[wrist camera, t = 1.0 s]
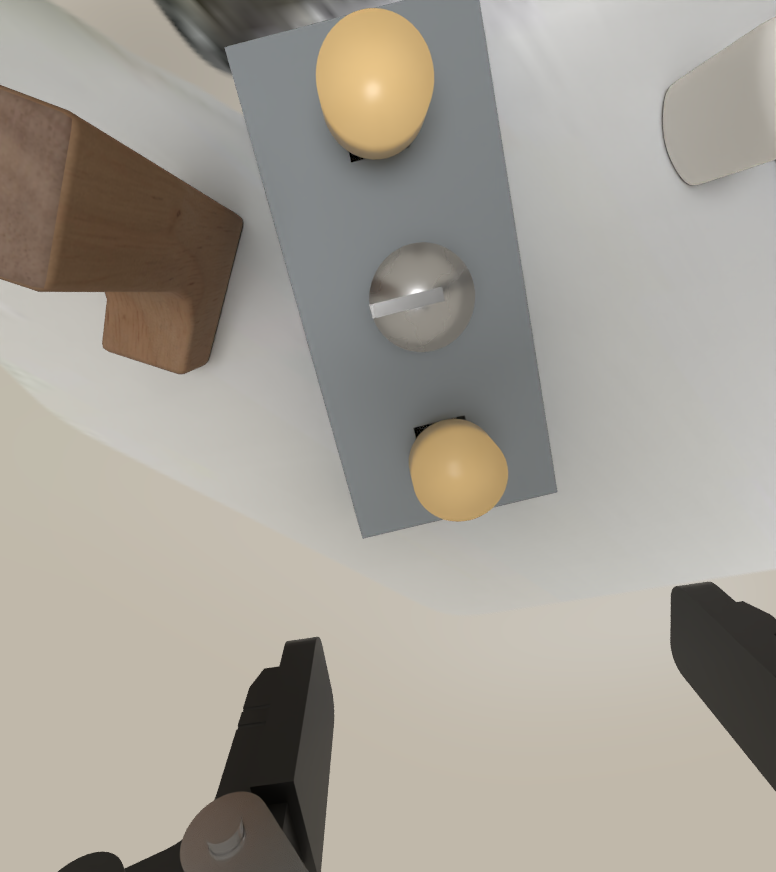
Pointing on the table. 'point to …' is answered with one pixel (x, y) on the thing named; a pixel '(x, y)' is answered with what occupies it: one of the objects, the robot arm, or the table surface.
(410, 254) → the dial middle
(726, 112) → the eye dropper bottle
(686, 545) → the table surface
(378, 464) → the panel
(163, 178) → the wooden block
